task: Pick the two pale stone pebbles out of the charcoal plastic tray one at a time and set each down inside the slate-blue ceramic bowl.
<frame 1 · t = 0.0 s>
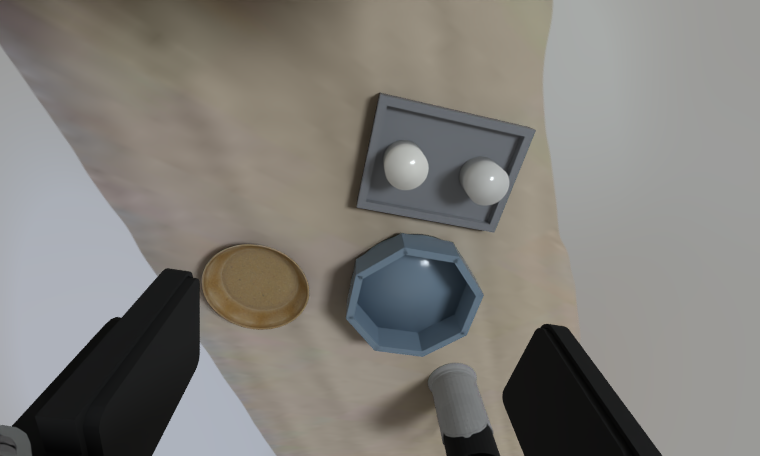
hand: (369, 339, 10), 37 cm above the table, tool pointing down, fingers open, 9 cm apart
bowl: (410, 286, 54), on the table
glass holder: (454, 389, 66), on the table
pebble a: (403, 159, 45), point 1 cm above the table, touching tray
plant saucer: (261, 278, 53), on the table
pebble b: (478, 175, 46), point 1 cm above the table, touching tray
tray: (440, 165, 46), on the table
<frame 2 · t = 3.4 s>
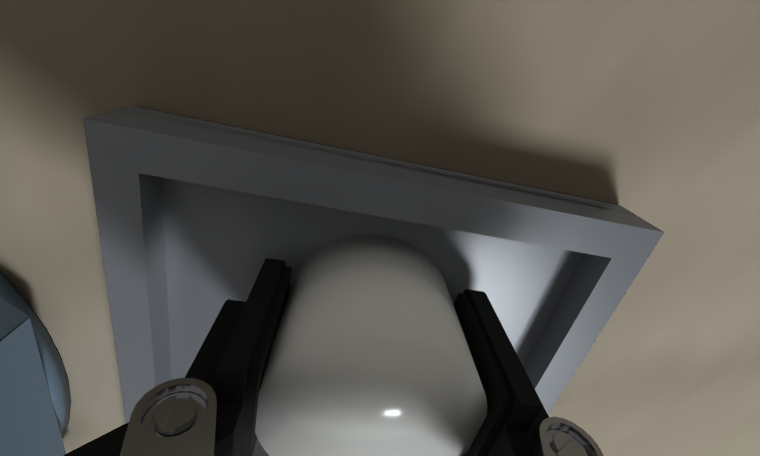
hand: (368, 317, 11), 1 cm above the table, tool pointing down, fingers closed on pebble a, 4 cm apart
pebble a: (368, 304, 11), point 1 cm above the table, touching gripper, tray
tray: (342, 391, 14), on the table
when the fingers open (3 cm above the table, at t = 9.7 s): pebble a drops 1 cm, resting on bowl.
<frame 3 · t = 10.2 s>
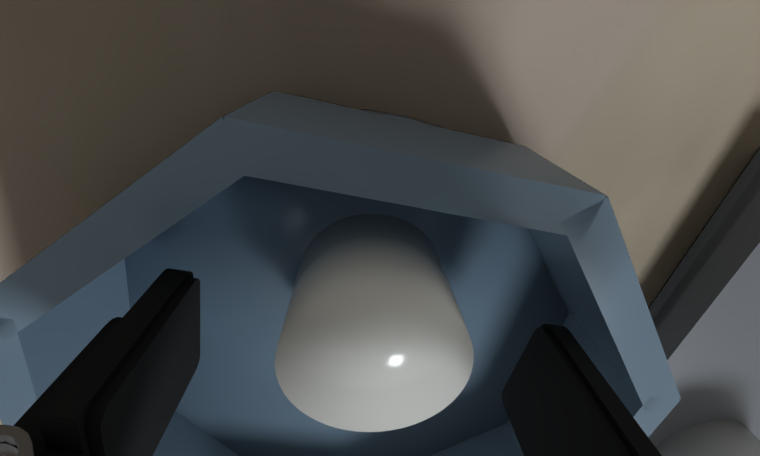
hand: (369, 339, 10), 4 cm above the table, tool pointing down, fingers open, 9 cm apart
bowl: (350, 335, 15), on the table
pebble a: (371, 278, 13), point 1 cm above the table, touching bowl
pebble b: (698, 451, 19), point 1 cm above the table, touching tray
tray: (747, 371, 17), on the table
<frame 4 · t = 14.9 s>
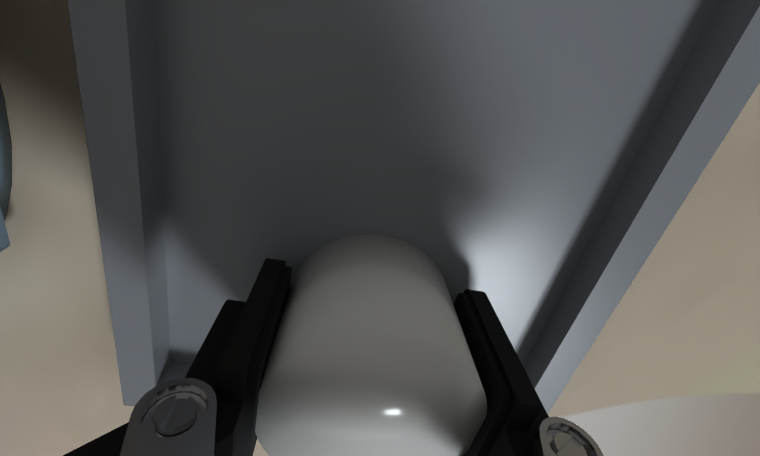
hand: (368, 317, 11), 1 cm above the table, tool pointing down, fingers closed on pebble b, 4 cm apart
pebble b: (368, 304, 11), point 1 cm above the table, touching gripper, tray
tray: (404, 142, 10), on the table
when the fingers open (3 cm above the table, at t = 21.3 s): pebble b drops 1 cm, resting on bowl.
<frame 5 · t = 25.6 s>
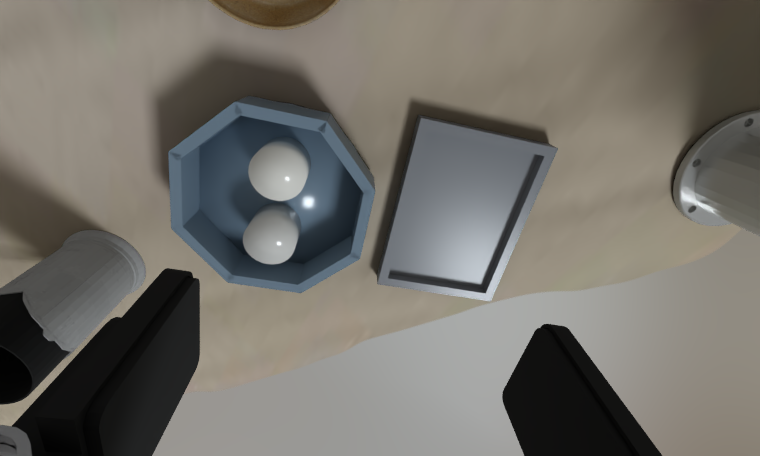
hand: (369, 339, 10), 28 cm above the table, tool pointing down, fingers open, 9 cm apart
bowl: (282, 191, 38), on the table
glass holder: (84, 269, 41), on the table
pebble a: (285, 162, 35), point 1 cm above the table, touching bowl
pebble b: (277, 224, 38), point 1 cm above the table, touching bowl
tray: (456, 214, 40), on the table
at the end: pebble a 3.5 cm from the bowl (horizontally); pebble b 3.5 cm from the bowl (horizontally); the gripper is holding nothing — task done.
